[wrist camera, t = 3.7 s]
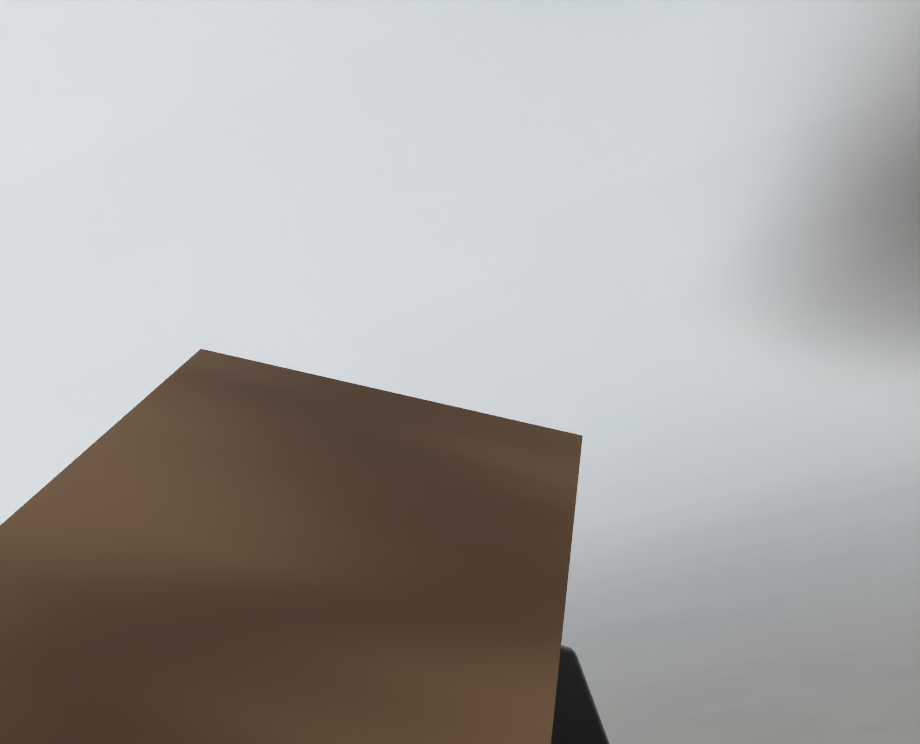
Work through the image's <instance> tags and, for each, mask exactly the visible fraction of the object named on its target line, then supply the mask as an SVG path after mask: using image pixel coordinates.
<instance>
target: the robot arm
mask: <svg viewBox="0 0 920 744" xmlns="http://www.w3.org/2000/svg"><path fill="white" fill-rule="evenodd" d="M551 744H609V742H608V739H607V736H606V733H605V731H604V728H603V725H602V723H601V720H600V717H599V714H598V712H597V709H596V706H595V704H594V701H593V698H592V695H591V693H590V690H589V687H588V685H587V682H586V679H585V677H584V674H583V671H582V668H581V666H580V663H579V660H578V658H577V655H576V653H575V652H574V651H573V650H572V649H571V648H569V647H566V646H562V645H561V650H560V659H559V669H558V679H557V689H556V698H555V708H554V718H553V728H552V737H551Z"/></svg>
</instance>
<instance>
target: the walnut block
mask: <svg viewBox="0 0 920 744" xmlns="http://www.w3.org/2000/svg"><path fill="white" fill-rule="evenodd" d="M581 444H582V436H581V435H577V434H572V433H568V432H563V431H559V430H555V429H550V428H546V427H541V426H537V425H533V424H528V423H524V422H519V421H515V420H511V419H506V418H502V417H497V416H493V415H489V414H484V413H480V412H475V411H471V410H467V409H462V408H458V407H454V406H449V405H445V404H440V403H436V402H432V401H427V400H423V399H418V398H414V397H410V396H405V395H401V394H396V393H392V392H388V391H383V390H379V389H374V388H370V387H366V386H361V385H357V384H352V383H348V382H344V381H339V380H335V379H330V378H326V377H322V376H317V375H313V374H308V373H304V372H300V371H295V370H291V369H287V368H282V367H278V366H273V365H269V364H265V363H260V362H256V361H251V360H247V359H243V358H238V357H234V356H229V355H225V354H221V353H216V352H212V351H207V350H203V349H200V350H199V351H198V352H197V353H196V354H195V355H194V356H192V357H191V358H190V359H189V360H188V361H187V362H186V363H184V364H183V365H182V366H181V367H180V368H179V369H178V370H177V371H175V372H174V373H173V374H172V375H171V376H170V377H169V378H167V379H166V380H165V381H164V382H163V383H162V384H161V385H159V386H158V387H157V388H156V389H155V390H154V391H153V392H152V393H150V394H149V395H148V396H147V397H146V398H145V399H144V400H142V401H141V402H140V403H139V404H138V405H137V406H136V407H134V408H133V409H132V410H131V411H130V412H129V413H128V414H127V415H125V416H124V417H123V418H122V419H121V420H120V421H119V422H117V423H116V424H115V425H114V426H113V427H112V428H111V429H109V430H108V431H107V432H106V433H105V434H104V435H103V436H102V437H100V438H99V439H98V440H97V441H96V442H95V443H94V444H92V445H91V446H90V447H89V448H88V449H87V450H86V451H84V452H83V453H82V454H81V455H80V456H79V457H78V458H77V459H75V460H74V461H73V462H72V463H71V464H70V465H69V466H67V467H66V468H65V469H64V470H63V471H62V472H61V473H60V474H58V475H57V476H56V477H55V478H54V479H53V480H52V481H50V482H49V483H48V484H47V485H46V486H45V487H44V488H42V489H41V490H40V491H39V492H38V493H37V494H36V495H35V496H33V497H32V498H31V499H30V500H29V501H28V502H27V503H25V504H24V505H23V506H22V507H21V508H20V509H19V510H17V511H16V512H15V513H14V514H13V515H12V516H11V517H10V518H8V519H7V520H6V521H5V522H4V523H3V524H2V525H0V744H551V737H552V728H553V718H554V708H555V698H556V689H557V679H558V669H559V659H560V650H561V640H562V630H563V620H564V610H565V601H566V591H567V581H568V571H569V562H570V552H571V542H572V532H573V523H574V513H575V503H576V493H577V484H578V474H579V464H580V454H581Z"/></svg>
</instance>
